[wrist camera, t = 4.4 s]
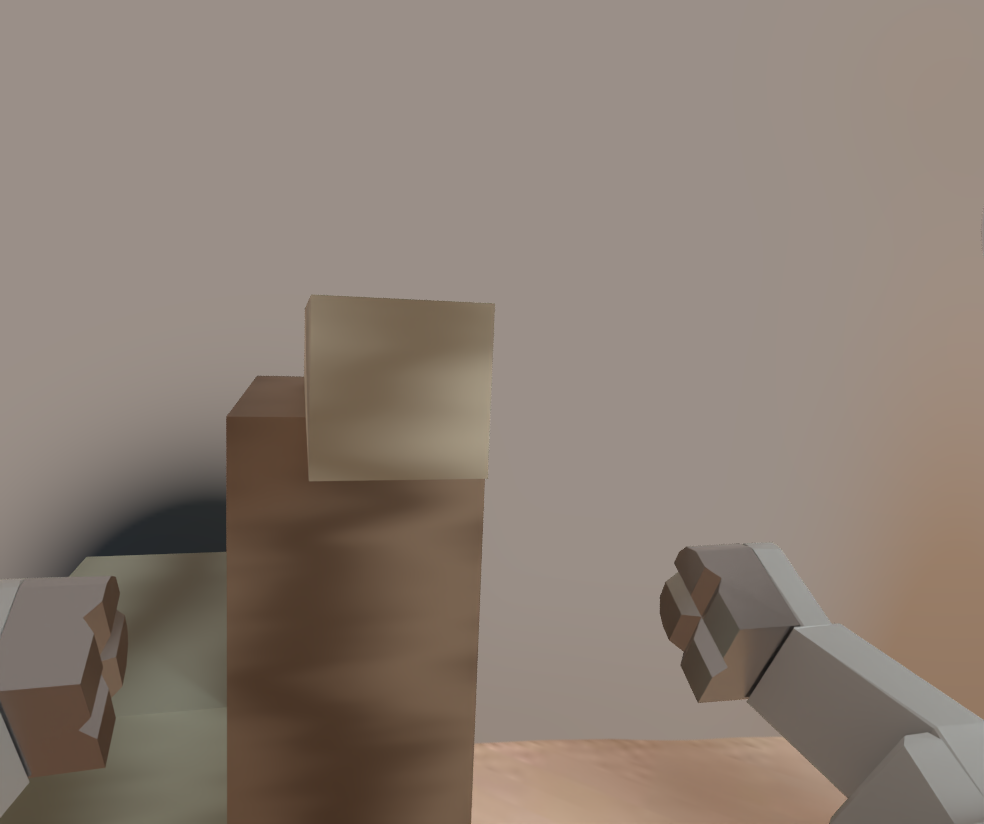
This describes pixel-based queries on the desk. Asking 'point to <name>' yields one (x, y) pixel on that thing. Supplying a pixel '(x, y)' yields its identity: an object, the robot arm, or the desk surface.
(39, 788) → the stepped stand
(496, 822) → the desk surface
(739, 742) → the desk surface
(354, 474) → the beech bar
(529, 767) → the desk surface
